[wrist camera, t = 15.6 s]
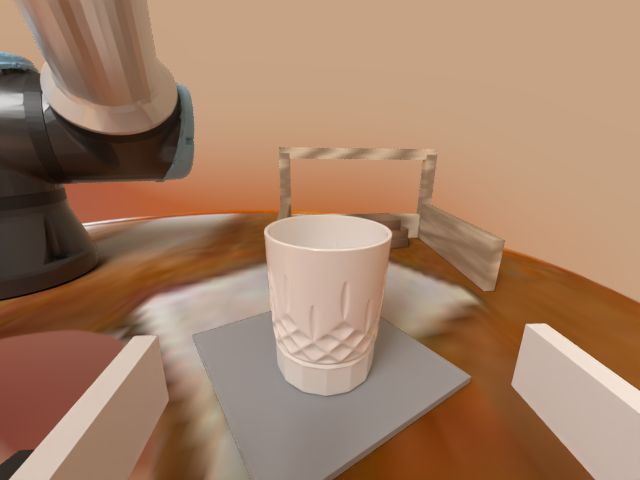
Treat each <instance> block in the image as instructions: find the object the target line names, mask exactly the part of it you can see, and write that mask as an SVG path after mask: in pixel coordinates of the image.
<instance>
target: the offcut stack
mask: <svg viewBox="0 0 640 480" xmlns="http://www.w3.org/2000/svg"><path fill="white" fill-rule="evenodd" d="M344 216H353V217H359V218H364V219H368V220H372V221H375V222H378V223H380V224H383V225H384V226H386V227H388V228H389V229H390V230H391V232H392V240H391V246H390V249H394V248H407V247H408V243H409V239H408V232H409V229H408V228H405V227H403V226H401V220H400V219H398V218H396V217H395V216H393V215H391V214H389V213H379V214H349V215H344Z"/></svg>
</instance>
